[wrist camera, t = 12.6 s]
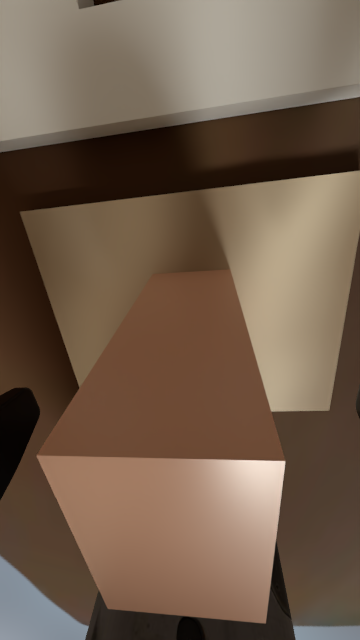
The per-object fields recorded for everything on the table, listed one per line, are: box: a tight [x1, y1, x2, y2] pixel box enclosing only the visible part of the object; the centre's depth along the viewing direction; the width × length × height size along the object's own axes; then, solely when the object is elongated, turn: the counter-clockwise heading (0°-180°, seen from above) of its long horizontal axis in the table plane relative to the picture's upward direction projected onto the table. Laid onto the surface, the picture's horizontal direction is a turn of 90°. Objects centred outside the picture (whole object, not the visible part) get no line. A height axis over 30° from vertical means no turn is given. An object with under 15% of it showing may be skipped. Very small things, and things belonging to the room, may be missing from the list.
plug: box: [36, 269, 285, 624], centre depth 8 cm, size 3×4×8 cm
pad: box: [20, 171, 360, 411], centre depth 12 cm, size 12×10×1 cm
